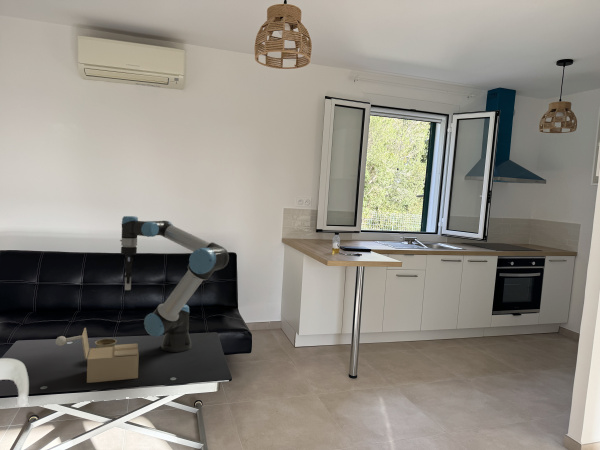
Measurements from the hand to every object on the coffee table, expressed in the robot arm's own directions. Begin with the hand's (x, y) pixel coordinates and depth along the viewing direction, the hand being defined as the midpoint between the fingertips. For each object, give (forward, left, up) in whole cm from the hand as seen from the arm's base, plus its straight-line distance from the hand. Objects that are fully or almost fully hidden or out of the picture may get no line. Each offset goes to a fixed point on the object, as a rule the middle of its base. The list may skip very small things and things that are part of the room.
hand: (127, 287), depth 225 cm
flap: (+16, +35, -17) cm, 42 cm away
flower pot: (+9, +15, -32) cm, 36 cm away
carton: (+5, +35, -32) cm, 47 cm away
